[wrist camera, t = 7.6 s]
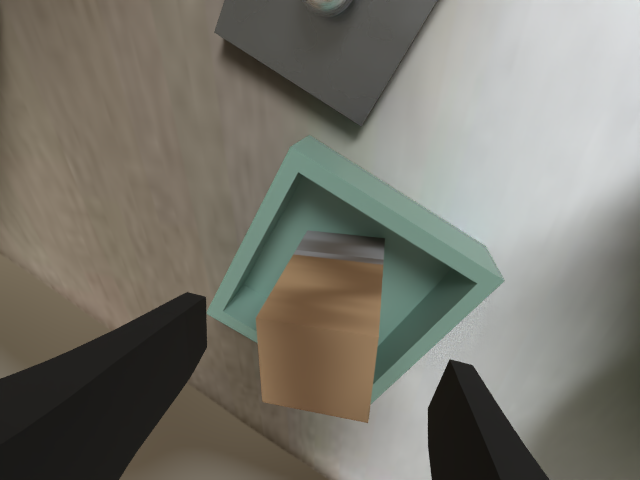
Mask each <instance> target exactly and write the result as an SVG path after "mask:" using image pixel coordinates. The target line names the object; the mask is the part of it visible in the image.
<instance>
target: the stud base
mask: <svg viewBox="0 0 640 480" xmlns="http://www.w3.org/2000/svg"><path fill="white" fill-rule="evenodd" d="M436 2H437V0H225V1H224V4H223V7H222V10H221V13H220V16H219V19H218V22H217V25H216V28H215V32H214V33H216V34H218V35H219V36H221V37H222V38H224V39H225V40H227V41H229V42H230V43H232V44H233V45H235V46H236V47H238V48H239V49H241V50H243V51H244V52H246V53H247V54H249V55H250V56H252V57H254V58H255V59H257V60H258V61H260V62H261V63H263V64H265V65H266V66H268V67H269V68H271V69H272V70H274V71H275V72H277V73H279V74H280V75H282V76H283V77H285V78H286V79H288V80H290V81H291V82H293V83H294V84H296V85H297V86H299V87H301V88H302V89H304V90H305V91H307V92H308V93H310V94H311V95H313V96H315V97H316V98H318V99H319V100H321V101H322V102H324V103H326V104H327V105H329V106H330V107H332V108H333V109H335V110H337V111H338V112H340V113H341V114H343V115H344V116H346V117H347V118H349V119H351V120H352V121H354V122H355V123H357V124H358V125H360V126H362V125H363V123H364V121H365V120H366V118H367V117H368V115H369V113H370V112H371V110H372V108H373V107H374V105H375V103H376V102H377V100H378V98H379V97H380V95H381V93H382V92H383V90H384V88H385V87H386V85H387V83H388V82H389V80H390V78H391V77H392V75H393V73H394V72H395V70H396V68H397V67H398V65H399V63H400V62H401V60H402V58H403V57H404V55H405V53H406V52H407V50H408V48H409V47H410V45H411V43H412V42H413V40H414V38H415V37H416V35H417V33H418V32H419V30H420V28H421V27H422V25H423V23H424V22H425V20H426V18H427V17H428V15H429V13H430V12H431V10H432V8H433V7H434V5H435V3H436Z"/></svg>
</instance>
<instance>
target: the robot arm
mask: <svg viewBox="0 0 640 480" xmlns="http://www.w3.org/2000/svg"><path fill="white" fill-rule="evenodd" d="M206 348H207V326H206V297H204V296H200V295H196V294H192V293H189V292H187V293H185V294H183V295H181V296H179V297H177V298H175V299H173V300H171V301H169V302H167V303H165V304H163V305H161V306H159V307H158V308H156V309H154V310H152V311H150V312H148V313H146V314H144V315H142V316H140V317H138V318H137V319H135V320H133V321H131V322H129V323H127V324H125V325H123V326H121V327H119V328H117V329H115V330H113V331H111V332H109V333H107V334H105V335H103V336H100V337H99V338H97V339H94V340H92V341H90V342H88V343H86V344H83V345H81V346H79V347H77V348H75V349H73V350H71V351H68V352H66V353H64V354H62V355H59V356H57V357H55V358H52V359H50V360H48V361H45V362H43V363H40V364H38V365H35V366H33V367H30V368H28V369H25V370H22V371H20V372H17V373H15V374H12V375H10V376H7V377H4V378H1V379H0V480H119V479H120V477H121V475H122V474H123V472H124V471H125V469H126V467H127V466H128V464H129V463H130V461H131V460H132V458H133V457H134V455H135V454H136V452H137V451H138V449H139V448H140V447H141V445H142V444H143V443H144V441H145V440H146V438H147V437H148V436H149V434H150V433H151V432H152V430H153V429H154V427H155V426H156V425H157V423H158V422H159V420H160V419H161V418H162V416H163V415H164V413H165V412H166V411H167V409H168V408H169V407H170V405H171V404H172V402H173V401H174V400H175V398H176V397H177V396H178V394H179V393H180V391H181V390H182V388H183V387H184V386H185V384H186V383H187V381H188V380H189V379H190V377H191V375H192V373H193V372H194V370H195V368H196V366H197V365H198V363H199V361H200V359H201V357H202V355H203V354H204V352H205V350H206ZM428 449H429V459H430V467H431V476H432V480H549V478H548V477H547V476H546V474H545V473H544V472H543V470H542V469H541V467H540V466H539V465H538V463H537V462H536V460H535V459H534V458H533V456H532V455H531V453H530V452H529V450H528V449H527V448H526V446H525V445H524V443H523V442H522V440H521V439H520V437H519V436H518V434H517V433H516V431H515V430H514V429H513V427H512V426H511V424H510V422H509V421H508V419H507V418H506V416H505V415H504V413H503V412H502V410H501V409H500V407H499V406H498V404H497V403H496V401H495V399H494V398H493V396H492V395H491V393H490V392H489V390H488V388H487V387H486V385H485V384H484V382H483V381H482V379H481V377H480V376H479V374H478V373H477V371H476V370H475V368H474V367H473V365H470V364H466V363H462V362H458V361H454V360H449V362H448V364H447V367H446V369H445V371H444V373H443V376H442V378H441V380H440V382H439V385H438V387H437V389H436V391H435V394H434V396H433V398H432V400H431V403H430V405H429V407H428Z"/></svg>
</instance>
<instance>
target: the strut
mask: <svg viewBox="0 0 640 480" xmlns="http://www.w3.org/2000/svg"><path fill="white" fill-rule="evenodd" d="M384 247H385V238H378V237H368V236H358V235H349V234H339V233H329V232H319V231H309V230H307V232H306V234H305V235H304V237H303V239H302V240H301V242H300V244H299V246H298V247H297V249H296V251H295V252H294V254H293V256H292V257H291V259H290V261H289V262H288V264H287V266H286V268H285V269H284V271H283V273H282V274H281V276H280V278H279V279H278V281H277V283H276V284H275V286H274V288H273V290H272V291H271V293H270V295H269V296H268V298H267V300H266V301H265V303H264V305H263V306H262V308H261V310H260V312H259V313H258V315H257V317H256V329H257V341H258V353H259V365H260V378H261V390H262V402H265V403H270V404H275V405H280V406H285V407H290V408H295V409H300V410H305V411H311V412H316V413H321V414H326V415H331V416H336V417H341V418H346V419H351V420H356V421H361V422H366V423H368V419H369V411H370V403H371V395H372V387H373V379H374V371H375V363H376V355H377V347H378V339H379V325H380V309H381V294H382V278H383V262H384Z"/></svg>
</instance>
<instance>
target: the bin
mask: <svg viewBox="0 0 640 480" xmlns="http://www.w3.org/2000/svg"><path fill="white" fill-rule="evenodd" d="M307 230H309V231H319V232H329V233H339V234H349V235H358V236H368V237H378V238H385V247H384V262H383V278H382V294H381V309H380V325H379V339H378V347H377V355H376V363H375V371H374V379H373V387H372V395H371V403H370V404H372V403H373V402H374V401H375V400H376V399H377V398H378V397H379V396H380V395H381V394H382V393H383V392H385V391H386V390H387V389H388V388H389V387H390V386H391V385H392V384H393V383H394V382H395V381H396V380H398V379H399V378H400V377H401V376H402V375H403V374H404V373H405V372H406V371H407V370H408V369H410V368H411V367H412V366H413V365H414V364H415V363H416V362H417V361H418V360H419V359H420V358H421V357H423V356H424V355H425V354H426V353H427V352H428V351H429V350H430V349H431V348H432V347H433V346H434V345H436V344H437V343H438V342H439V341H440V340H441V339H442V338H443V337H444V336H445V335H446V334H447V333H449V332H450V331H451V330H452V329H453V328H454V327H455V326H456V325H457V324H458V323H459V322H460V321H462V320H463V319H464V318H465V317H466V316H467V315H468V314H469V313H470V312H471V311H472V310H473V309H475V308H476V307H477V306H478V305H479V304H480V303H481V302H482V301H483V300H484V299H485V298H487V297H488V296H489V295H490V294H491V293H492V292H493V291H494V290H495V289H496V288H497V287H498V286H500V285H501V284H502V283H503V282H504V281H505V280H504V278H503V277H502V275H501V273H500V271H499V269H498V268H497V266H496V264H495V262H494V260H493V259H492V257H491V255H490V253H489V251H488V250H487V248H486V246H484V245H483V244H481V243H480V242H478V241H476V240H475V239H473V238H472V237H470V236H468V235H467V234H465V233H464V232H462V231H461V230H459V229H457V228H456V227H454V226H453V225H451V224H449V223H448V222H446V221H445V220H443V219H442V218H440V217H438V216H437V215H435V214H434V213H432V212H430V211H429V210H427V209H426V208H424V207H423V206H421V205H419V204H418V203H416V202H415V201H413V200H411V199H410V198H408V197H407V196H405V195H403V194H402V193H400V192H399V191H397V190H396V189H394V188H392V187H391V186H389V185H388V184H386V183H384V182H383V181H381V180H380V179H378V178H377V177H375V176H373V175H372V174H370V173H369V172H367V171H365V170H364V169H362V168H361V167H359V166H358V165H356V164H354V163H353V162H351V161H350V160H348V159H346V158H345V157H343V156H342V155H340V154H338V153H337V152H335V151H334V150H332V149H331V148H329V147H327V146H326V145H324V144H323V143H321V142H319V141H318V140H316V139H315V138H313V137H312V136H310V135H309V136H307V137H305V138H304V139H302V140H301V141H299V142H297V143H296V144H294V145H293V146H291V147H290V149H289V151H288V153H287V155H286V157H285V159H284V161H283V163H282V165H281V167H280V169H279V171H278V173H277V175H276V177H275V179H274V181H273V182H272V184H271V186H270V188H269V190H268V192H267V194H266V196H265V198H264V200H263V202H262V204H261V206H260V208H259V210H258V212H257V214H256V216H255V218H254V220H253V222H252V224H251V226H250V228H249V230H248V232H247V234H246V236H245V238H244V240H243V242H242V244H241V246H240V248H239V250H238V251H237V253H236V255H235V257H234V259H233V261H232V263H231V265H230V267H229V269H228V271H227V273H226V275H225V277H224V279H223V281H222V283H221V285H220V287H219V289H218V291H217V293H216V295H215V297H214V299H213V301H212V303H211V305H210V307H209V309H208V311H207V313H206V314H208V315H210V316H212V317H213V318H215V319H217V320H218V321H220V322H222V323H224V324H225V325H227V326H229V327H230V328H232V329H234V330H235V331H237V332H239V333H241V334H242V335H244V336H246V337H247V338H249V339H251V340H253V341H254V342H256V343H258V341H257V329H256V317H257V315H258V313H259V312H260V310H261V308H262V306H263V305H264V303H265V301H266V300H267V298H268V296H269V295H270V293H271V291H272V290H273V288H274V286H275V284H276V283H277V281H278V279H279V278H280V276H281V274H282V273H283V271H284V269H285V268H286V266H287V264H288V262H289V261H290V259H291V257H292V256H293V254H294V252H295V251H296V249H297V247H298V246H299V244H300V242H301V240H302V239H303V237H304V235H305V234H306V232H307Z"/></svg>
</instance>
